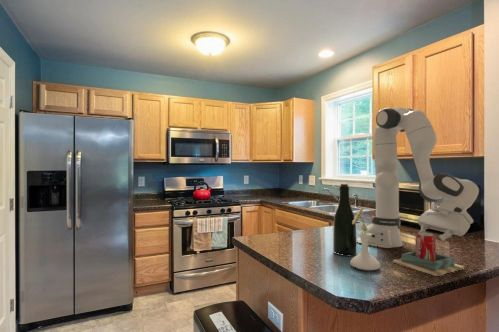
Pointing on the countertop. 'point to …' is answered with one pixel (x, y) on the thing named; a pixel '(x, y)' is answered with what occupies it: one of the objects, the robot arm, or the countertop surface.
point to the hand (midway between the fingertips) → (430, 236)
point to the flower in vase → (364, 249)
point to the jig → (429, 264)
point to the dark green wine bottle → (344, 225)
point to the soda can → (425, 246)
